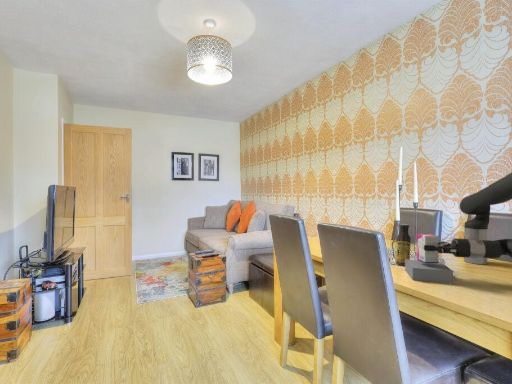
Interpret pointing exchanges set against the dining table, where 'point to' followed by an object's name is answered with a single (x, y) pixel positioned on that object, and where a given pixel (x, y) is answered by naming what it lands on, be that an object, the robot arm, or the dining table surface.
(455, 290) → the dining table surface
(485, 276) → the dining table surface
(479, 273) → the dining table surface
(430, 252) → the supplement box
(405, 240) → the sauce bottle
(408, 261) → the podium
